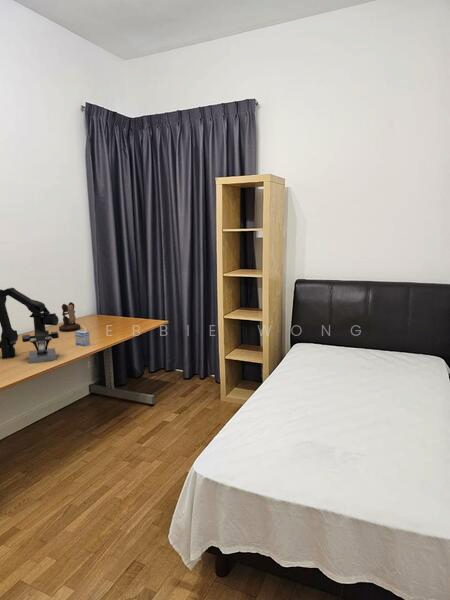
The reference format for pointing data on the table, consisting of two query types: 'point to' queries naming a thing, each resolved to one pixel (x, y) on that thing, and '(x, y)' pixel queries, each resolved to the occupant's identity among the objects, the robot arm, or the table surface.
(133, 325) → the table surface
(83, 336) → the medicine box
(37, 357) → the socket block
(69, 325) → the brown figurine
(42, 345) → the silver flanged peg
